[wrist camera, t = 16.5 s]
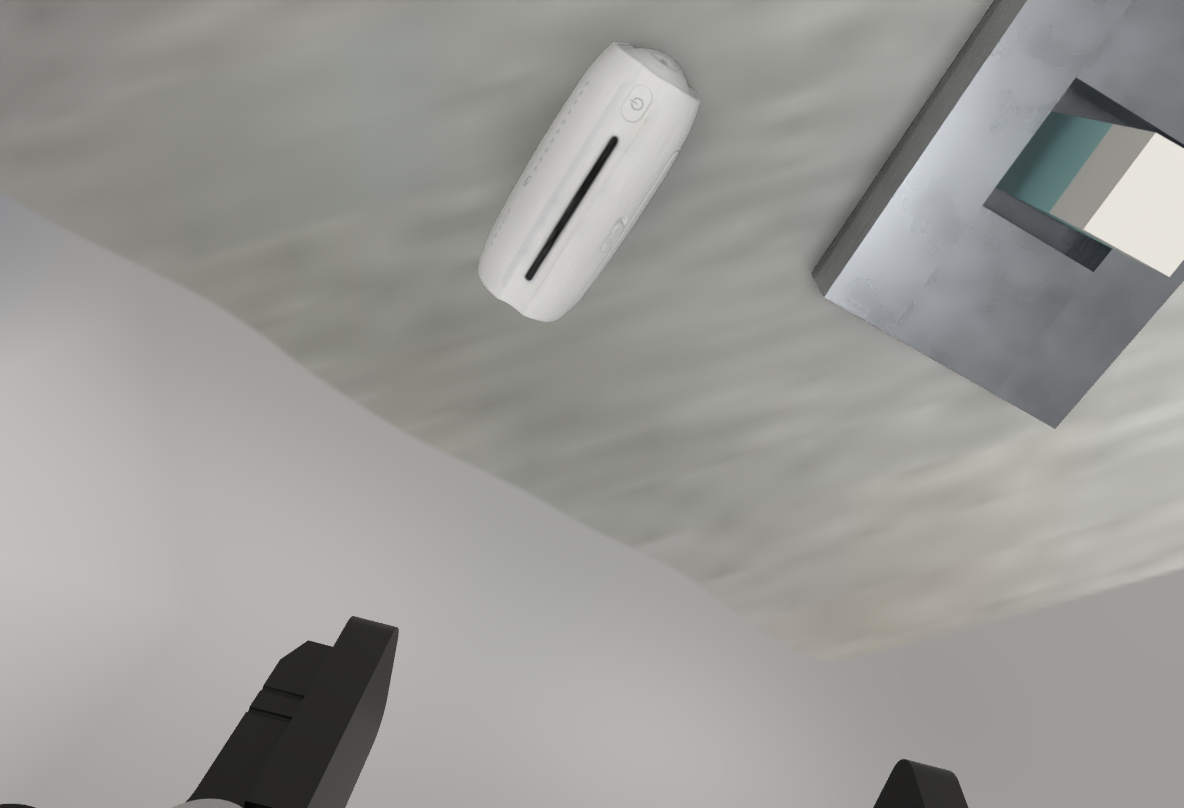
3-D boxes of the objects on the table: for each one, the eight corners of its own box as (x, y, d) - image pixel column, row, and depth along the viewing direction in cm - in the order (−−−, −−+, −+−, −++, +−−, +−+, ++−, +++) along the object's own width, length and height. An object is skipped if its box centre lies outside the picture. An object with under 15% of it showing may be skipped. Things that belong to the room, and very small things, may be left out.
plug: (995, 187, 37) (1083, 229, 29) (1047, 110, 36) (1155, 132, 28) (1063, 224, 38) (1169, 277, 29) (1118, 150, 36) (1245, 183, 28)
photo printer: (629, 24, 37) (605, 18, 26) (710, 82, 38) (722, 101, 26) (508, 223, 41) (442, 294, 30) (584, 273, 42) (548, 362, 30)
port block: (811, 273, 41) (824, 297, 37) (1075, -121, 34) (1123, -141, 30) (1022, 394, 42) (1055, 428, 38) (1319, 38, 35) (1393, 38, 31)
